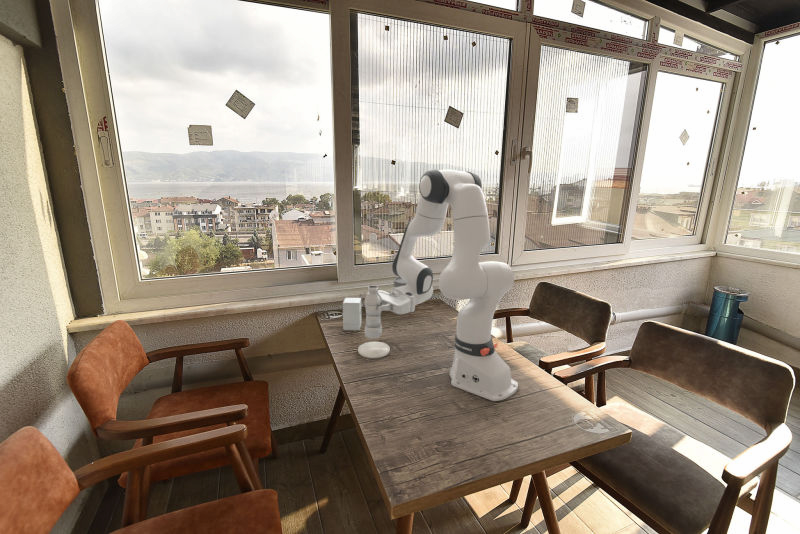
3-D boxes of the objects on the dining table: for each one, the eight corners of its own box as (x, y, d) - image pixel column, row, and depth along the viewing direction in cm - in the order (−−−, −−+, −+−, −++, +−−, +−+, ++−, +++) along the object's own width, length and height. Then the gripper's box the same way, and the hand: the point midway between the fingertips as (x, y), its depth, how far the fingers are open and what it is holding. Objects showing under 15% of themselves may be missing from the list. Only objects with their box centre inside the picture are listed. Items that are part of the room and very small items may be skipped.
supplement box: (359, 330, 161) (359, 303, 158) (342, 330, 161) (342, 302, 158) (362, 324, 168) (361, 297, 165) (345, 323, 168) (344, 297, 165)
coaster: (396, 351, 142) (396, 349, 142) (371, 361, 134) (371, 358, 134) (376, 341, 151) (376, 338, 151) (352, 350, 143) (351, 347, 143)
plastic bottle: (364, 333, 145) (364, 284, 140) (382, 333, 145) (382, 284, 140) (363, 340, 139) (363, 289, 134) (382, 340, 139) (382, 289, 134)
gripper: (382, 284, 154) (355, 291, 144) (417, 296, 139) (389, 305, 130) (382, 299, 155) (355, 306, 146) (417, 312, 140) (389, 322, 131)
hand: (371, 306), depth 138 cm, fingers closed on plastic bottle, 6 cm apart
